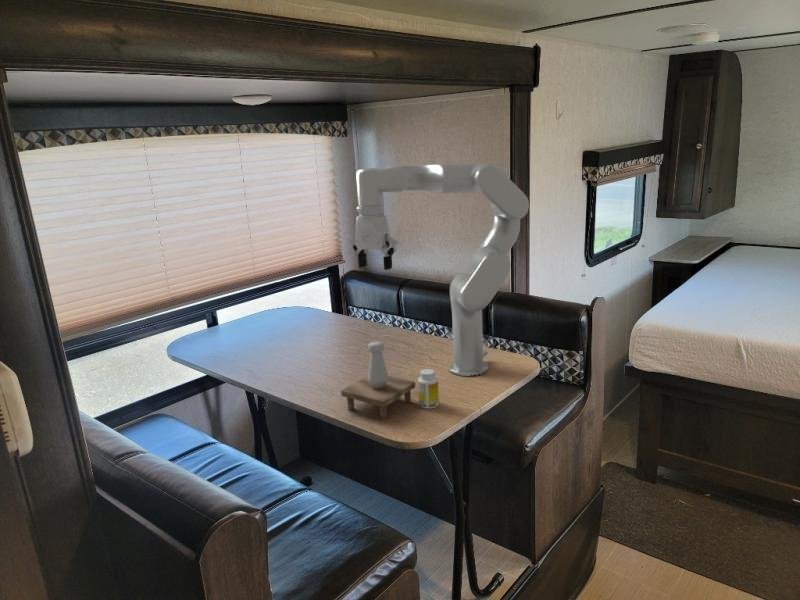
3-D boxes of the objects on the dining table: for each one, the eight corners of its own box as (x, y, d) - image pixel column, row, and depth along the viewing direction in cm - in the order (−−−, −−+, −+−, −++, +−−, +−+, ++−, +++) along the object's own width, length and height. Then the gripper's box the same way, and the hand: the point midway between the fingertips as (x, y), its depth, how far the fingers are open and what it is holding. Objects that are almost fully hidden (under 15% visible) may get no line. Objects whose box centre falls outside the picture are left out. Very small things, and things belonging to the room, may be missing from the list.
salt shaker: (378, 380, 166) (375, 338, 163) (393, 384, 163) (390, 341, 160) (364, 387, 162) (361, 343, 159) (379, 391, 159) (376, 347, 155)
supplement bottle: (440, 401, 164) (439, 368, 162) (436, 410, 159) (435, 375, 156) (422, 400, 166) (420, 367, 163) (417, 408, 161) (415, 374, 158)
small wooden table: (375, 391, 174) (373, 372, 173) (416, 401, 165) (415, 381, 164) (342, 410, 162) (341, 390, 161) (385, 422, 154) (383, 401, 152)
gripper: (341, 212, 171) (345, 268, 175) (387, 213, 161) (390, 272, 166) (357, 209, 177) (361, 263, 181) (402, 210, 167) (405, 267, 171)
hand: (375, 267), depth 173 cm, fingers open, 9 cm apart
